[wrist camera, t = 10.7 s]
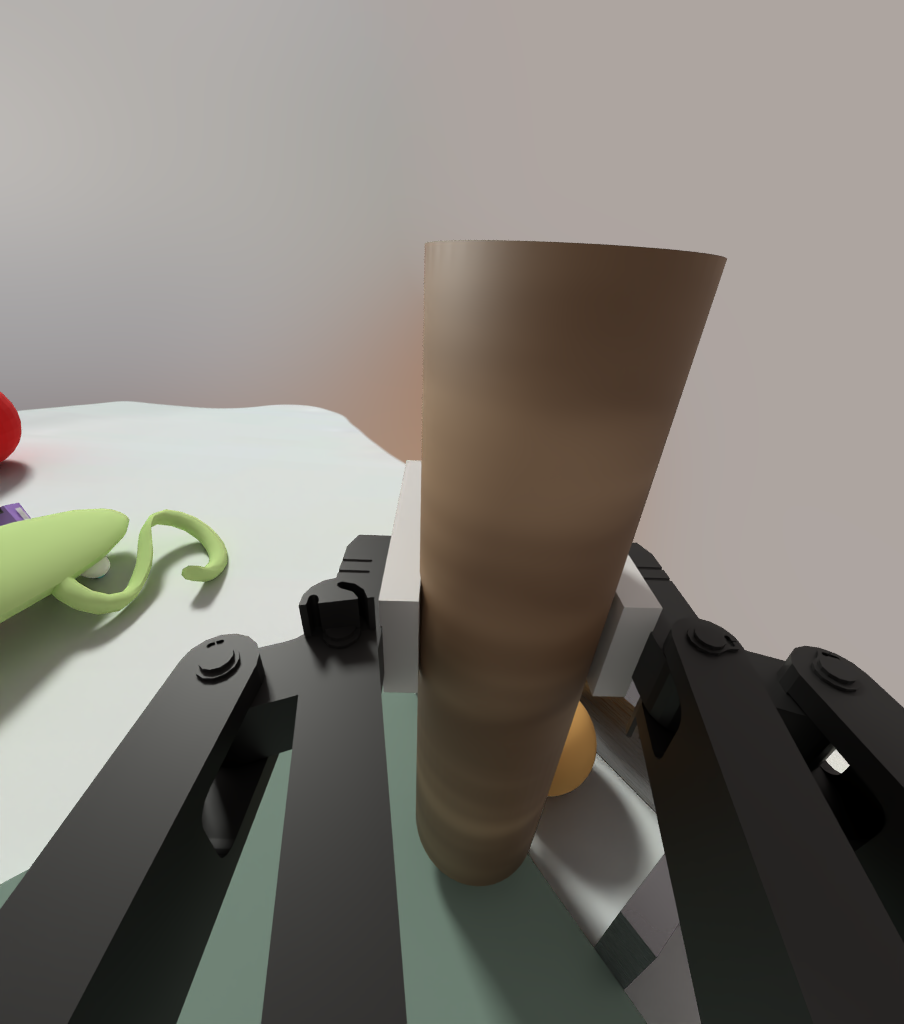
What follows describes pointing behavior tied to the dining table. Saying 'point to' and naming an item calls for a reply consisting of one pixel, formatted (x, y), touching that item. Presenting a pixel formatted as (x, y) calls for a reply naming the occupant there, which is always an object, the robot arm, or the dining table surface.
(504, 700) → the peg
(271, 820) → the mat
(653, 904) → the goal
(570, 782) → the ball
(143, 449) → the dining table surface
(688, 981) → the dining table surface
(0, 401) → the ornament
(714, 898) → the robot arm
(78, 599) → the figurine
